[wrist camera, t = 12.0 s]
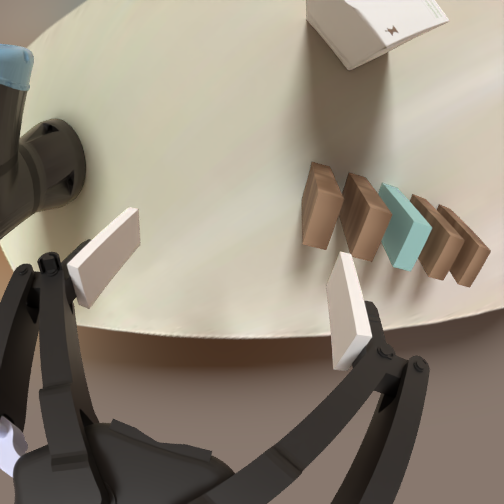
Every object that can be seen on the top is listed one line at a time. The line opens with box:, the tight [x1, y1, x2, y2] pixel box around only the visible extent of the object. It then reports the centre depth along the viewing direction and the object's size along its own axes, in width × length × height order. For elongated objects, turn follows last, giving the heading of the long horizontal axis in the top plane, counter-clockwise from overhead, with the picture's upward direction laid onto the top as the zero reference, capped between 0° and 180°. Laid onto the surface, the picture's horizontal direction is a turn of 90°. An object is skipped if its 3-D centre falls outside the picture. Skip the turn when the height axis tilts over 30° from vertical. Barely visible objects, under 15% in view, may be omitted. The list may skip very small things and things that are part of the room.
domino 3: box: [410, 194, 465, 281], centre depth 27 cm, size 2×5×11 cm, turn 170°
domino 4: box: [437, 204, 491, 287], centre depth 27 cm, size 2×5×11 cm, turn 170°
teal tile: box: [378, 183, 432, 271], centre depth 27 cm, size 2×5×11 cm, turn 170°
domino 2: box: [339, 173, 393, 262], centre depth 27 cm, size 2×5×11 cm, turn 170°
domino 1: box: [302, 162, 344, 250], centre depth 27 cm, size 2×5×11 cm, turn 170°
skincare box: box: [306, 0, 449, 70], centre depth 15 cm, size 8×7×16 cm
